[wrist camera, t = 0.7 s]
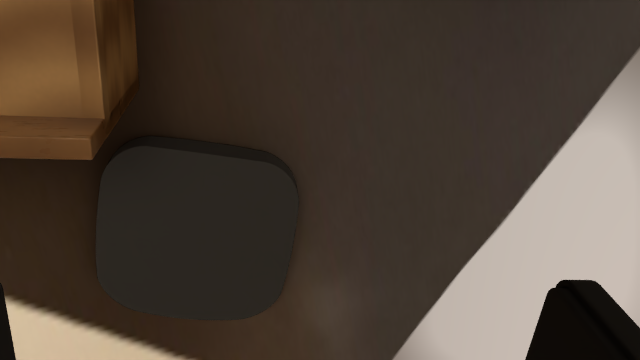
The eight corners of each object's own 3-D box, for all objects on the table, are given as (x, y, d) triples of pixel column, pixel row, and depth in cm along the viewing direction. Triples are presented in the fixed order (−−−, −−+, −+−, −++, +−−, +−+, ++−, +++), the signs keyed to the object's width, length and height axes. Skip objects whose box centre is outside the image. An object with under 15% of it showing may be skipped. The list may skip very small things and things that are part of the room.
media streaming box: (108, 126, 41) (98, 140, 38) (305, 153, 43) (309, 169, 41) (101, 290, 47) (92, 313, 44) (275, 305, 49) (276, 328, 46)
